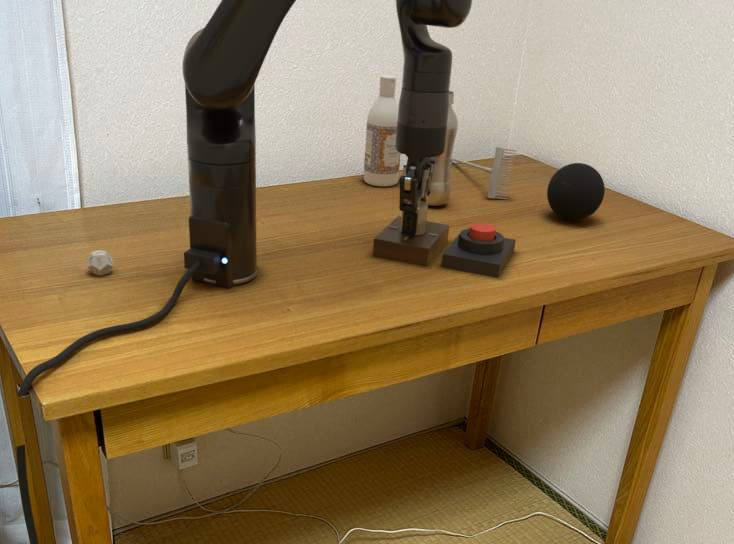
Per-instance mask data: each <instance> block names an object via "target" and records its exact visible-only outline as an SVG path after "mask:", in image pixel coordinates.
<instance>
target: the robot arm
mask: <svg viewBox="0 0 734 544" xmlns="http://www.w3.org/2000/svg"><path fill="white" fill-rule="evenodd" d="M296 1H297V0H221V1H220V2H219V4H218V6H217V7H216V9H215V11H214V12H213V13H212V15H211V17H210V18H209V20H208V21H207V23H206V24H205V25H204V27H203V28H201V29H199V30H198V31H196V32H194V34H193V35H192V36H191V37H190V38H189V41H187V44H186V46H185V49H184V53H183V58H182V64H181V66H182V67H181V68H182V71H181V72H182V77H183V81H184V92H185V94H184V95H185V113H186V115H185V118H186V119H185V120H186V124H185V125H186V149H187V167H188V189H189V209H190V216H189V217H188V234H189V235H188V236H189V249H187V250H185V251H184V252H183V263H184V269H185V270H186V272H185V273H184V274H183V275H182V277H181V278H180V280H179V281H178V282H177V284H176V287H175V289H174V291H173V293H172V294H171V296H170V298H169V299H168V301H167V302H166V303H165V305H164V306H163V308H162V309H161V310H159V311H158V312H156V313H154V314H152V315H151V316H148V317H146V318H143V319H141V320H137V321H133V322H132V321H131V322H128V323H123V324H117V325H112V326H107V327H103V328H100V329H96V330H94V331H92V332H90V333H87V334H85V335H83V336H82V337H80V338H78V339H77V340H75V341H74V342H72V343H71V344H70V345H68V346H67V347H66V348H65V349H63V350H62V351H61V352H59V353H58V354H57V355H55V356H53V357H52V358H51V359H48V360H46V361H43V362H42V363H39V364H38V365H36V366H34V367H33V368H32V369H30V370H29V372H27V374H26V376H25V377H24V378H23V380H22V382H21V384H20V386H19V389H18V392H17V396H18V397H24V396H26V395H28V393H29V390H30V388H31V386H32V384H33V383H34V381H35V380H36V379H37V378H38V377H39V376H40V375H41V374H43V373H45V372H47V371H49V370H51V369H54V368H55V367H57V366H59V365H60V364H62V363H64V361H66V360H67V359H68V358H70V357H71V356H72V355H73V354H74V353H76V352H77V351H78V350H80V349H81V348H82V347H84V346H86V345H87V344H89V343H91V342H93V341H96V340H98V339H100V338H103V337H107V336H110V335H114V334H120V333H126V332H130V331H136V330H139V329H143V328H146V327H149V326H151V325H154V324H155V323H157V322H159V321H161V320H162V319H164V318H165V317H166V316H167V315H168V314H169V313H170V312H171V311H172V309H173V308H174V306H175V304H176V303H177V302H178V300H179V299H180V297H181V295H182V293H183V290H184V288H185V287H186V285H187V283H188V282H189V280H190V279H191V280H192V281H195V282H200V283H204V284H209V285H212V286H213V285H214V286H219V287H222V288H227V289H229V288H231V287H233V286H237V285H241V284H246V283H248V282H251V281H253V280H254V279H255V278H256V277H257V276H258V261H257V259H258V258H257V257H258V256H257V254H258V253H257V252H258V251H257V248H258V247H257V157H256V156H257V137H256V136H257V135H256V104H255V103H256V98H255V97H256V96H255V95H256V93H255V90H256V87H255V85H256V84H255V83H256V81H257V79H258V77H259V74H260V72H261V69H262V66H263V64H264V62H265V59H266V57H267V55H268V53H269V51H270V49H271V46H272V44H273V42H274V39H275V37H276V35H277V33H278V31H279V29H280V27H281V26H282V23H283V22H284V19H285V18H286V16H287V15H288V13H289V11H290V10H291V9H292V7H293V6H294V4H295V3H296ZM472 5H473V0H395V9H396V16H397V22H398V27H399V33H400V38H401V46H402V54H403V65H402V66H403V67H402V77H401V78H402V80H401V89H400V95H399V99H398V104H399V107H398V120H397V132H396V145H395V147H396V150H397V151H398V152H399V153H401V154H400V155H405V156H406V157H407V160H406V164H404V165H403V167H402V173H401V175H400V177H399V178H398V182H399V205H398V206H399V207H398V208H399V211H400V212H402V211H403V224H402V234H403V235H408V236H414V235H415V234H416V231H417V221H418V212H419V206H420V201H423V202H425V203H426V202H427V199H428V198H427V196H429V194H430V188H431V182H432V175H433V169H434V164H435V158H431V157H437V156H440V155H442V154H443V153H444V150H445V142H446V132H447V123H448V114H449V91H450V88H451V79H452V78H451V77H452V69H453V52H452V50H451V48H449V47H447V46H446V45H444V44H442V43H439V42H437V41H436V40H434V39H433V38H431V34H430V32H429V28H428V26H429V27H438V28H446V29H451V28H452V29H453V28H454V29H455V28H457V27H459V26H461V25H463V24H464V23H465V21H466V20H467V18H468V17H469V15H470V12H471V9H472ZM408 200H411V201H412V204H407V203H408ZM15 448H16V451H15V452H16V454H15V455H16V467H17V468H16V469H17V478H18V487H19V494H20V501H21V506H22V512H23V513H22V514H23V518H24V523H25V528H26V532H27V536H28V537H27V538H28V542H29V544H40V543H39V539H38V533H37V529H36V525H35V519H34V514H33V509H32V503H31V496H30V489H29V482H28V481H29V480H28V472H27V471H28V470H27V456H26V444H22V445H18V446H15Z"/></svg>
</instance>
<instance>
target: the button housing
mask: <svg viewBox="0 0 734 544" xmlns="http://www.w3.org/2000/svg"><path fill="white" fill-rule="evenodd" d="M469 232H470V227H469V228H465V229H462V230H461V231H460V232H459V234H458V235H457V236H456V237H455V238H454V240H453V241H452V242H451V243H450V245H449V246H448V247H447V248H446V249H445V251H444V252H443V253H442V257H441V268H445V269H450V270H455V271H456V270H457V271H460V272H464V273H465V272H466V273H471V274H476V275H481V276H487V277H492V278H496V279H498V278H499V277H500V275H501V274H502V272H503V271H504V269H505V267H507V266H506V265H507V264H508V262H509V261H510V259H511V258H512V256H513V254H514V253H515V247H516V241H517V239H514V238H509V237H505V236H504V235H503V234H502V232H499V231H496V232H495V238H494V240H491V241H480V240H475V239H472V238H470V237H469Z"/></svg>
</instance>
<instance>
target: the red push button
mask: <svg viewBox="0 0 734 544" xmlns="http://www.w3.org/2000/svg"><path fill="white" fill-rule="evenodd" d="M469 228H470V232H469V237H470V238H472V239H475V240H480V241H491V240H494V238H495V232H497V231H496V230H497V228H496V227H495V226H494V225H492V224H489V223H484V222H475V223H472V224H471V225H470V226H469Z"/></svg>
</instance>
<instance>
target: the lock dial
mask: <svg viewBox="0 0 734 544" xmlns="http://www.w3.org/2000/svg"><path fill="white" fill-rule="evenodd" d="M407 204H412V201H411V200H408V203H407ZM428 211H429V205H428V204H427V203H425V202H423V201H420V206H419V212H418V221H417V231H416V234H415V235H422V234H424V233H425V230H426V221H428V220H427V219H428ZM401 217H402V218H401V229H400V230H401V232H402V224H403V211H401Z"/></svg>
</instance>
